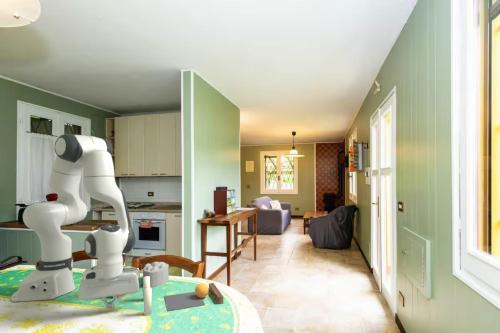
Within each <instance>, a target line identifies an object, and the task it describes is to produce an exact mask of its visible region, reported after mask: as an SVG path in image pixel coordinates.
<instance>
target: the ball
mask: <svg viewBox="0 0 500 333" xmlns="http://www.w3.org/2000/svg"><path fill="white" fill-rule="evenodd" d="M194 292H195V294H196V296H197V297H199V298H202V299H203V298H206V297H207V296H208V295H209V292H210V290H209V285H207V284H206V283H204V282H203V283H202V282H201V283H198V284H197V285H196V287H195V288H194Z"/></svg>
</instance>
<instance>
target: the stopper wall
mask: <svg viewBox="0 0 500 333" xmlns="http://www.w3.org/2000/svg"><path fill="white" fill-rule="evenodd" d="M208 288H209V292H210V293H211V295H212V296H213V299H215V301H216V303H217V304H218V305H221V304H224V296H223V294H222V292H221V291H220V290H219V288H218V287H217V285H216V284H215V283H214V282H211V283H208Z"/></svg>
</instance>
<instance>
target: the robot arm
mask: <svg viewBox="0 0 500 333" xmlns="http://www.w3.org/2000/svg"><path fill="white" fill-rule="evenodd" d="M54 152H55V154H56V155H55V156H56V157H55V159H54V161H53V165H52V169H51V172H50V176H49V177H50V178H49V183H48V187H49V189H50V190H51V191H52V192H53V193H55V194H56V195H57V199H56V200H52V201H42V202H37V203H33V204H31V205H28V206H27V207H26V208H25V209H24V211H23V213H22V221H23V223H24V225H25V226H26V227H27V228H29V229H31V230H32V231H33V232H34V233H36V234H37V236H38V238H39V242H40V248H41V250H40V251H41V254H40V255H41V257H40V258H38V260H37V261H36V262H35V265H34V267H35V269H34V270H33V271H32V272H31V273H29V274H28V275H27V276H25V277H24V278H23V279H22V280H21V282H19V283H20V284H19V286H18V289H17V291H15V292H14V293H13V294H12V295H11V297H10V301H11V302H12V303H17V302H32V301H44V300H46V301H47V300H54V299H55V298H58V297H60V296H64V295H67V294H68V293H71V292H73V291H75V290H76V289H77V288H76V284H75V281H74V275H73V269H74V268H73V267H74V256H73V254H72V252H73V249H72V248H73V240H72V238H71V237H70V236H69V235H67V234H65V233H63V232H62V229H61V226H67V225H71V224H72V225H73V224H76V223H78V222H81V221H83V220H84V219H86V217H87V214H88V207H87V205H86V203H85V202H84V201H83V200H82V199H81V197H80V184H81V178H82V177H83V179H82V180H83V188H84V193H86V194H87V195H88V196H89V197H90V198H92V199H94V200H96V201H99V202H104V203H106V204H109V205H110V206H112V207H113V209H114V211H115V212H114V213H115V216H116V220H117V224H111V223H110V224H104V225H101V226H100V227H98V230H97V231H94V232H91V233H89V234H88V235H87V236H86V238H85V239H84V254H86V255H87V256H89V257H90V258H97V261H96V264H95V265H94V266H93V265H92V266H91V267H88V268H86V269H84V271H83V273H82V276H81V278H82V279H81V281H80V283H79V287H78V292H77V298H78V300H80V301H86V300H87V301H88V300H92V299H93V300H94V299H101V301H102V303H103V304H104V308H105V309H106V310H107V309H108V310H109V309H113V308H115V303H116V301H117V299H118V298H117V295H123V296H125V295H124V294H126V295H129V294H136V293H138V292H139V291H140V283H139V279H140V277H141V270H140V269H139V267H136V266H131V267H132V268H123V265H124V259H123V254H128V253H129V252H131V251H132V250H133V248H134V246H135V245H136V236H135V232H134V229H133V227H132V222H131V217H130V213H129V208H128V203H127V200H126V195H125V193H124V192H123V190H122V189H120V188H119V187H118V185H117V182H116V177H115V168H114V161H113V157H112V155H113V152H114V150H113V145H112V143H111V141H109V140H108V139H106V138H103V137H98V136H97V137H96V136H94V135H93V136H92V135H89V134H88V135H86V134H85V135H84V134H81V135H80V134H73V133H66V134H64V133H63V134H61V135H60V136H58V137H57V138H56V140H55V143H54ZM82 173H83V174H82ZM82 175H83V176H82ZM109 296H113V297H112V299H113V300H112V301H107V298H108V297H109Z"/></svg>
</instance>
